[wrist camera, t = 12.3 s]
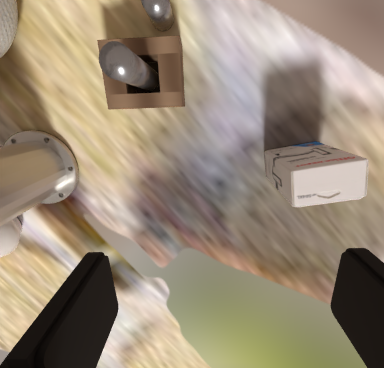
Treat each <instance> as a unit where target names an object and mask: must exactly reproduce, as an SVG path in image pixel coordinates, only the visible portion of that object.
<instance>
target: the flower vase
mask: <svg viewBox="0 0 384 368" xmlns="http://www.w3.org/2000/svg"><path fill="white" fill-rule="evenodd" d="M21 232H22V225H21V223H20V221H19V219H18V218H17V217H16V218H14V219H12V220H11V221H9V222H7V223H6V224H4V225H2V226H1V227H0V258H1V257H4V256H6V255H8V254H10V253H12V252H13V251H14V250H15V249H16V248H17V246H18V244H19V241H20V234H21Z"/></svg>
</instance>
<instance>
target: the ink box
mask: <svg viewBox="0 0 384 368" xmlns="http://www.w3.org/2000/svg"><path fill="white" fill-rule="evenodd" d="M264 154H265V167H266V177H267V178H268V179H269V180H270V181H271V183H272V184H273V185H274V186H275V187H276V188H277V189H278V190H279V192H280V193H281V194H282V195H283V196H284V197H285V198H286V199H287V201H288V202H289V203H290V204H291V205H292V206H293V207H303V206H311V205H318V204H326V203H333V202H341V201H348V200H357V199H361V198H362V197H365V196H366V195H367V182H368V159H366V158H363V157H360V156H357V155H354V154H351V153H348V152H345V151H342V150H339V149H336V148H333V147H331V146H328V145H325V144H322V143H319V142H316V141H315V142H309V143H304V144H298V145H293V146H288V147H282V148H277V149H272V150H267V151H265V152H264Z"/></svg>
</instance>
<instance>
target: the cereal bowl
mask: <svg viewBox="0 0 384 368" xmlns="http://www.w3.org/2000/svg"><path fill="white" fill-rule="evenodd" d="M17 20H18V9H17V3H16V0H0V58H1V57H2V56H3V55H4V54H5V53H6V52H7V51H8V49H9V48H10V46H11V44H12V42H13V40H14V38H15V35H16V31H17V24H18V21H17Z"/></svg>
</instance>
